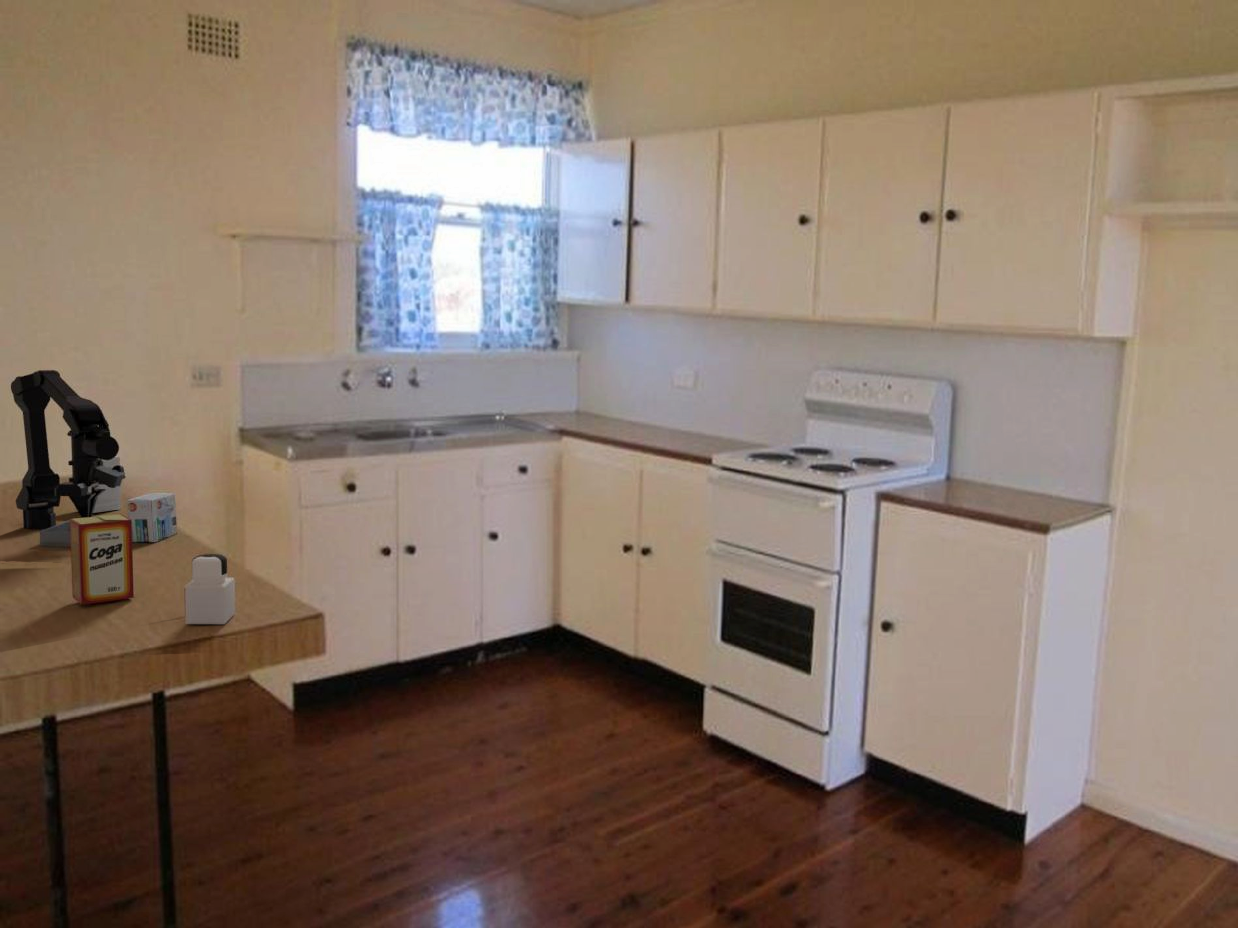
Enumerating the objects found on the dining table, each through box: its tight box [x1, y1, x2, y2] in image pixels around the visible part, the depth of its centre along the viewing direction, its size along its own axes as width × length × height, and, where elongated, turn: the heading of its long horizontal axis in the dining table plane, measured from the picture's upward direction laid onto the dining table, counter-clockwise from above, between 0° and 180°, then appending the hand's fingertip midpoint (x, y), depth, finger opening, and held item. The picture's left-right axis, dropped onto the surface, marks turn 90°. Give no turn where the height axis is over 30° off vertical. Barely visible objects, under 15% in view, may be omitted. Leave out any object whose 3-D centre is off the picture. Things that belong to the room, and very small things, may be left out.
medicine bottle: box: [184, 553, 236, 625], centre depth 199 cm, size 7×7×12 cm
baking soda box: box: [69, 513, 134, 606], centre depth 211 cm, size 10×6×16 cm
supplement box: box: [74, 456, 122, 514], centre depth 300 cm, size 9×9×15 cm
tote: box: [39, 519, 71, 548], centre depth 262 cm, size 15×15×4 cm
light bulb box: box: [125, 492, 178, 543], centre depth 266 cm, size 11×7×11 cm
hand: (87, 519), depth 261 cm, fingers closed
